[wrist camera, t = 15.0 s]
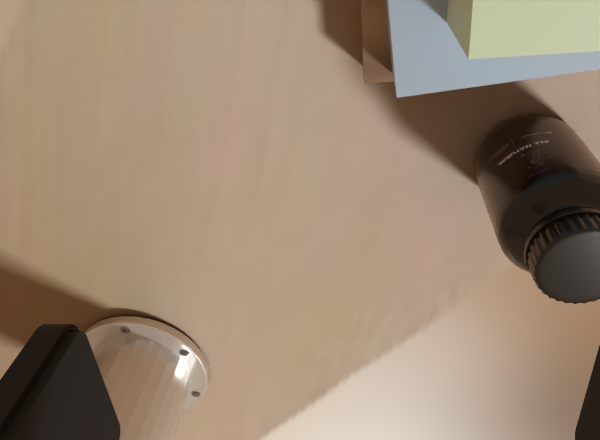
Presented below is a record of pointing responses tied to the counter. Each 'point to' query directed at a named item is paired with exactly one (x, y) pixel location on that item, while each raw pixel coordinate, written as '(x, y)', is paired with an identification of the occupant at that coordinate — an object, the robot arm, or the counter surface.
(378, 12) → the walnut base block
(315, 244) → the counter surface
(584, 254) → the supplement bottle
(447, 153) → the counter surface
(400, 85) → the slate top block
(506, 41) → the sage block
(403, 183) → the counter surface
